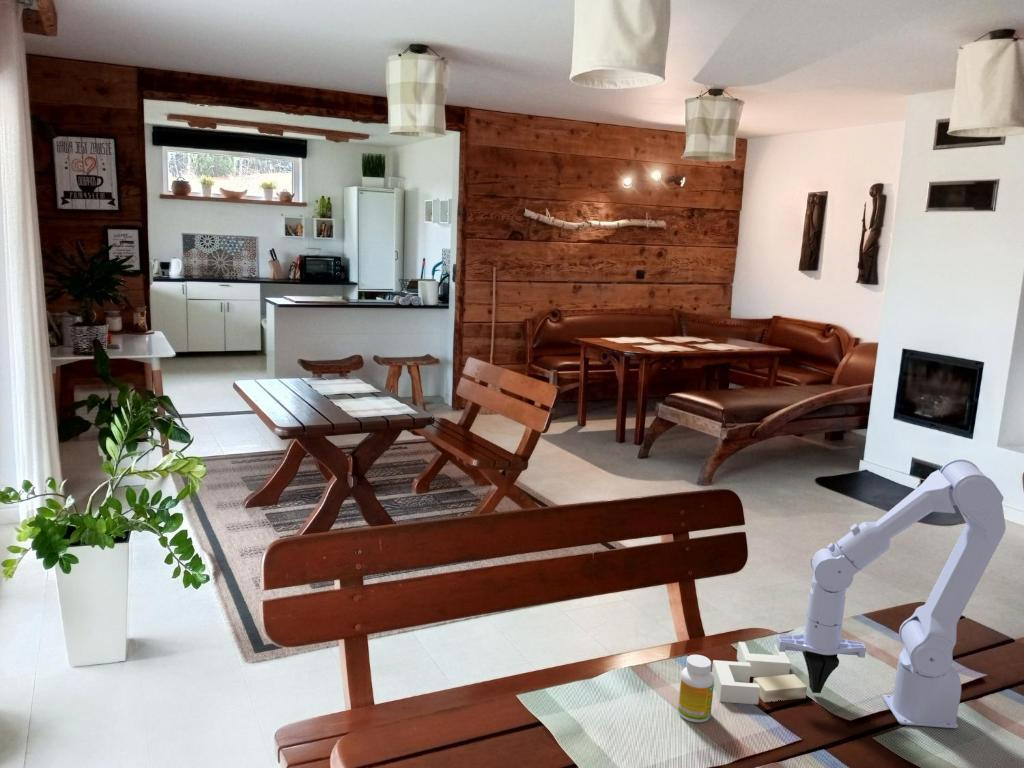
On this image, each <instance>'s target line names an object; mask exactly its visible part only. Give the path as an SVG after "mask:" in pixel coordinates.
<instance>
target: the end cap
mask: <svg viewBox="0 0 1024 768" xmlns="http://www.w3.org/2000/svg"><path fill="white" fill-rule="evenodd" d="M750 672H751V665H750V663H746V662H738V661H731V660H730V661H729V660H716V659H713V660H712V664H711V673H712V674H713V676H714V689H715V691H716V694H717V698H718V701H719V702H720V703H731V704H732V703H733V704H734V703H735V704H747V705H759V700H760V697H759V693H760V686H759V684H757V683H753V682H750V681H751V680H750V679H751V677H750Z"/></svg>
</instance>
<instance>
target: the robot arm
mask: <svg viewBox="0 0 1024 768" xmlns="http://www.w3.org/2000/svg"><path fill="white" fill-rule="evenodd" d="M1003 501H1004V495H1003V493H1001V491H1000V489H999V488H998V486H997V485H996V484H995V482H994V481H993V480H992V479H991V478H990V477H988V476H987V475H986V474H984V473H983V472H982V470H980V468H979V467H978V466H977V465H976V464H975V463H973V462H972V461H971V460H966V459H963V458H962V459H961V458H960V459H959V458H958V459H953V460H949V461H948V462H946V463H945V464H944V465H943V466H942V467H941V469H937V470H935V471H933V472H931V473H930V474H929V476H927V477H926V479H925V480H924V481H922V483H921V484H920V485H918V487H917V488H915V489H914V490H913V491H911V492H910V493H909V494H908V495H906V496H905V497H904V498H903V499H902V500H900V502H898V503H897V504H895V506H893V507H892V508H891V509H890V510H889V511H887V512H886V513H885V514H884V515H883V516H881V517H880V518H879V519H878V520H877V521H863V522H861V523H860V524H859V525H858V524H857V523H854V524H852V525H851V526H850V527H849V529H850V531H849V532H848V533H846V534H845V535H844V536H843V537H841V538H840V539H839V540H837V541H836V542H834V543H833V542H831V543H829V544H828V545H827V548H825V547H823V548H821V549H819V550H818V551H816V552H815V553H814V555H813V556H812V557H813V558H811V559H810V566H811V569H812V572H813V575H812V581H811V586H810V587H811V588H809V589H810V590H809V597H808V603H807V611H806V619H805V620H806V621H805V628H804V633H801V634H793V635H792V634H791V635H777V637H776V646H777V648H778V650H779V652H785V653H786V651H793V652H802V655H803V658H804V661H805V665H806V669H807V674H808V681H809V682H808V684H809V686H808V687H809V688H810V691H811V692H812V694H821V693H822V691H823V688H824V686H825V683H826V681H827V680H828V678H829V677H830V676H831V674H832V673H833V672H834V670H836V668H838V667H839V664H840V659H839V657H838V655H845V656H846V655H848V656H857V657H858V658H861V659H863V658H866V653H867V651H866V650H867V647H866V646H865V644H864V643H863V641H856V640H851V639H847V638H846V639H845V638H841V634H842V627H843V620H844V619H843V618H844V613H845V612H844V611H845V604H846V599H847V598H846V591H847V589H848V588H849V587H850V586H851V585H852V583H853V580H854V576H855V574H857V573H859V572H860V571H861V570H864V568H865V567H866V568H867V566H868V565H870V564H871V563H873V562H874V561H875V560H876V559H878V558H880V557H881V556H882V555H883V554H885V553H886V552H888V551H889V549H890V543H891V539H893V538H894V537H895V536H897V535H899V534H900V533H902V532H903V531H906V529H908V528H909V527H911V526H913V524H915V523H917V522H919V521H920V520H922V519H923V518H925V517H926V516H928V515H930V514H931V513H934V512H935V513H946V514H956V513H957V512H956V510H955V508H954V506H957V508H958V510H959V512H960V514H961V515H962V518H963V519H964V521H965V525H964V527H963V529H962V532H961V533H960V535H959V536H958V538H957V541H956V542H955V545H954V546H953V547H952V548H953V549H952V550H951V553H950V554H949V557H948V558H947V560H946V562H945V564H944V566H943V568H942V571H941V572H940V574H939V576H938V578H937V580H936V582H935V584H934V586H933V588H932V590H931V592H930V594H929V595H928V598H927V599H926V601H925V604H923V605H919V606H918V607H916V608H915V610H914V612H913V614H912V615H911V616H910V617H909V618H907V619H905V620H904V621H903V622H902V623H901V625H900V626H899V629H898V635H899V639H900V641H901V642H902V645H903V649H902V650H901V651H900V653H899V655H898V661H897V667H896V673H895V678H894V679H895V680H894V686H893V692H892V695H891V694H883V695H882V699H883V700H884V702H885V704H886V705H887V707H888V708H889V710H890V711H891V712H892V714H893V716H894V717H895V719H896V720H897V722H898V723H899V724H900V725H903V726H904V725H905V726H908V725H909V726H918V727H919V726H920V727H934V728H946V729H958V728H959V724H958V723H957V718H958V713H959V707H960V703H961V702H960V701H961V695H962V682H961V677H960V674H959V672H958V670H957V669H956V668H955V667H954V666H953V665H952V664H953V661H954V659H953V651H954V648H955V646H956V644H957V625H958V622H959V620H960V618H961V616H962V615H963V613H964V611H965V609H966V607H967V605H968V603H969V602H970V599H971V598H972V595H973V593H974V592H975V589H976V588H977V586H978V584H979V582H980V580H981V579H982V576H983V575H984V572H985V571H986V569H987V567H988V565H989V563H990V561H991V559H992V558H993V556H994V554H995V552H996V550H997V549H998V548H997V547H998V546H999V544H1000V542H1001V540H1002V539H1003V536H1004V534H1005V532H1006V529H1007V527H1006V519H1005V513H1004V507H1003Z"/></svg>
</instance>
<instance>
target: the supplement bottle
mask: <svg viewBox="0 0 1024 768" xmlns="http://www.w3.org/2000/svg"><path fill="white" fill-rule="evenodd" d="M680 673H681V674H680V682H679V694H678V703H677V712H678V714H679V716H680V717H682V718H683V719H684V720H685V721H686V720H687V721H688V722H693V723H704V722H705V723H706V722H707V721H708V720H709V719H710V718H711V716H712V706H713V695H714V688H715V686H714V676H713V674H712V661H711V660H710V658H708V657H706V656H704V655H701V654H690V655H689V656H687V658H686V663H685V667H684V668H683V669H682V670H681V672H680Z"/></svg>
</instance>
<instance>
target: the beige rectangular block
mask: <svg viewBox="0 0 1024 768" xmlns="http://www.w3.org/2000/svg"><path fill="white" fill-rule="evenodd" d="M752 683H757V684H759V686H760V693H759V699H760V700H761V701H762V702H763V703H770V702H771V701H772V702H780V700H781V701H789V700H799V699H806V698H807V697H806V695H807V689H808V686H807V685H806V684H805V683H804V682H803V681H802V680H801V679H800V678H799V677H798V676H797V675H796V674H795V673H792V674H790V673H789V675H779V676H769V677H753V680H752ZM778 700H779V701H778Z"/></svg>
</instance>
